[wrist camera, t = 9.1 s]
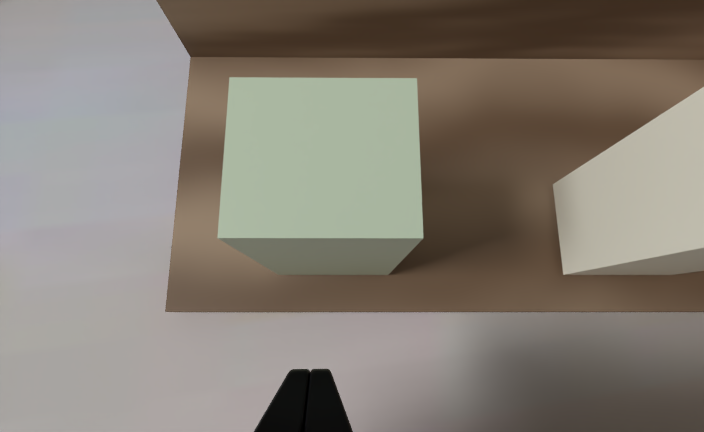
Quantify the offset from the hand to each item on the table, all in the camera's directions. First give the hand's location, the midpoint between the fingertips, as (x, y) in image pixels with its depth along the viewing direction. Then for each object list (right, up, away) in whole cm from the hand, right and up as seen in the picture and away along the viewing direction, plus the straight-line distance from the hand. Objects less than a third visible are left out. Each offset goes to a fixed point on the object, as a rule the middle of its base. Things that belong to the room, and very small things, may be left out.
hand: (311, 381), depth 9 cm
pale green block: (0, +3, +9) cm, 10 cm away
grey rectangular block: (+12, +3, +9) cm, 16 cm away
